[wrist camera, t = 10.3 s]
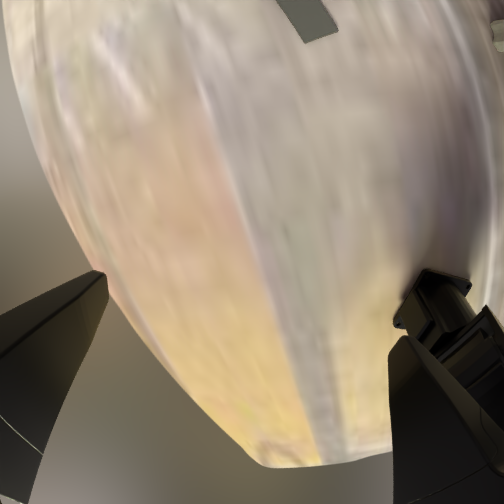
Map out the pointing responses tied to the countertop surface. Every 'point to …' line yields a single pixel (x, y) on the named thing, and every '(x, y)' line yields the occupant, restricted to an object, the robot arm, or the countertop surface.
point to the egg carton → (498, 34)
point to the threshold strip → (308, 18)
